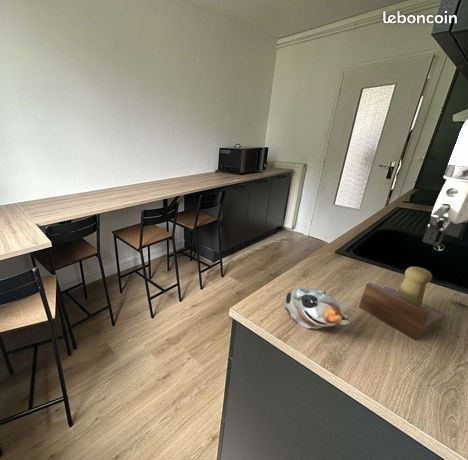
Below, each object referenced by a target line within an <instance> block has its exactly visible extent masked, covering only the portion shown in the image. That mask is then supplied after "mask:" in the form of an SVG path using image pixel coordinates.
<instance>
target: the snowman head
mask: <svg viewBox="0 0 468 460" xmlns="http://www.w3.org/2000/svg"><path fill="white" fill-rule="evenodd" d="M284 310H286V311H287V313H288V315H289V319H290V320H292V321H293V322H295V323H296V324H298V325H300V326H301V327H303V328H305V329H314V330H317V329H321V328H327V327H333V326H334V327H336V326H346V325H347V324H350V323H352V317H350V316H349V315H348V314H344V313H342V310H341V305H340V303H339V302H338V301H337V300H336V299H335V298H334V297H332V296H330V295H328V294H327V292H326V290H325V289H324V288H323V289H316V288H302V287H292V288H291V289H290V290H289V291H288V292H287V294H286V296H285V303H284Z"/></svg>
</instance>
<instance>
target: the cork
mask: <svg viewBox="0 0 468 460" xmlns="http://www.w3.org/2000/svg"><path fill="white" fill-rule="evenodd" d="M404 277H405V278H404V280H403V281H402V283H401V284H400V286H399V287H398V288H397V290H396V291H397V292H396V293H395V294H396V295H398V296H400V297H402V298H404V299H406V300H408V301H410V302H412V303H414V304H416V305H418V306H420V307H421V305H422V303H423V300H424V295H425V292H426V287H427V284H428V283H430V282H432V280H433V274H432V273H431V272H430V271H429V270H427V269H425V268H423V267H419V266H409V267H408V268H406V270H405V272H404Z"/></svg>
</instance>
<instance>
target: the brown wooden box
mask: <svg viewBox="0 0 468 460" xmlns="http://www.w3.org/2000/svg"><path fill="white" fill-rule="evenodd" d="M396 292H397V290H395V289H394V288H391V287H389V286H387V285H386V286H383V287H381V286H379V285H377V284H375V283H373V282H370V281H368V282H366V284H365V288H364V290H363V293H362V296H361V299H360V302H359V304H358V308H359V309H362V310H363V311H364V312H366V313H368V314H369V315H370V316H373V317H375V318H376V319H378V320H380V321H381V322H383V323H385V324H387V325H389V326H390V327H392V328H394V329H395V330H397V331H399V332H400V333H402V334H404V335H406V336H407V337H409V338H411V339H412V340H414V341H417V340H419V339H420V338H422V337H424V336H425V335H427V334H429V333H431V332H432V331H434V330H436V329H437V328H439V327H441V325H442V323H443V322H444V319H445V318H446V315H447V314H446V313H444V312H443V311H440V310H439V309H436V308H434V307H432V306H430V305H427V304H425V303H423V302H422V305H421V307H420V306H418V305H416V304H414V303H412V302H410V301H408V300H406V299H404V298H402V297H400V296H398V295H396V294H395V293H396Z"/></svg>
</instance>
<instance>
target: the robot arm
mask: <svg viewBox="0 0 468 460" xmlns="http://www.w3.org/2000/svg"><path fill="white" fill-rule="evenodd" d="M443 179H445V183H444V184H443V186H442V188H441V190H440V192H439V194H438V197H437V199H436V201H435V204H434V206H433V209H432V212H431V215H430V220H429V221H428V224H427V227H426V229H425V233H424V236H423V238H422V242H423V243H426V244H429V245H432V246H435V247H439V246H441V244H442V242H443V240H444V237H445V235H446V236H449V237H454V238H460V237H461V236H462V234H463V232H464V230H465V228H466V226H467V223H468V118H467V119H466V120H465V122H464V124H463V125H462V128H461V130H460V132H459V135H458V138H457V141H456V144H455V146H454V148H453V151H452V154H451V156H450V159H449V162H448V164H447V167H446V170H445V172H444V174H443Z"/></svg>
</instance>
